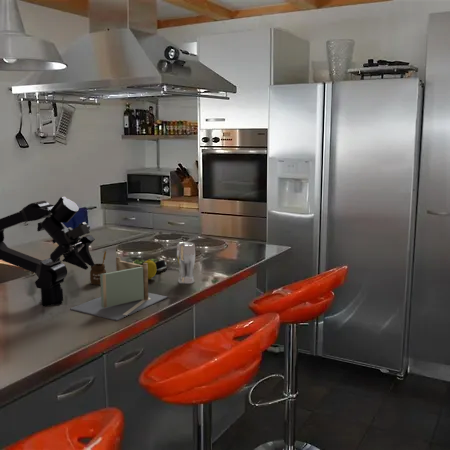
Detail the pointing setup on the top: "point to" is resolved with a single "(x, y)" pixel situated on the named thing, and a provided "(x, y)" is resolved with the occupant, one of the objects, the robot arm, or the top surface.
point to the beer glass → (186, 262)
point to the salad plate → (160, 264)
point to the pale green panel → (121, 286)
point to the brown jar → (97, 272)
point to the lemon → (151, 268)
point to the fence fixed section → (127, 265)
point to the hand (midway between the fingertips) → (90, 267)
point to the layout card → (117, 307)
